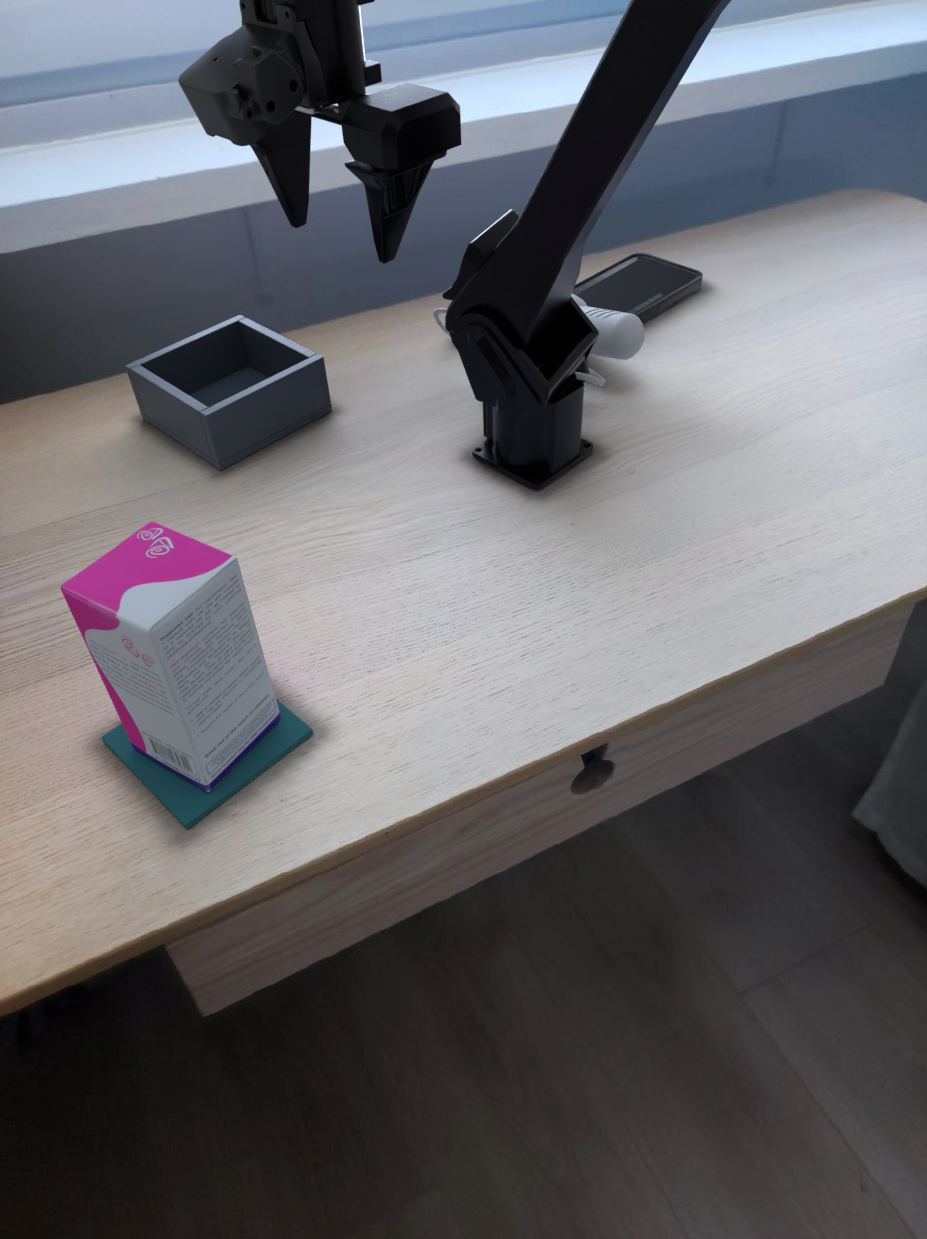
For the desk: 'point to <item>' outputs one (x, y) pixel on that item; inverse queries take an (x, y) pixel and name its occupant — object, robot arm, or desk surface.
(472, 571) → the desk surface
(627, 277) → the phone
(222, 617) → the supplement box
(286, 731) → the counter mat
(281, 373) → the grey open box
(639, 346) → the clip-on lamp
